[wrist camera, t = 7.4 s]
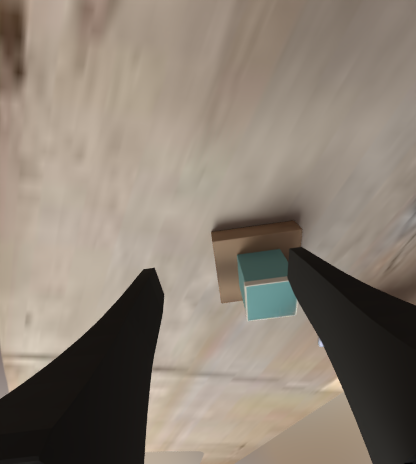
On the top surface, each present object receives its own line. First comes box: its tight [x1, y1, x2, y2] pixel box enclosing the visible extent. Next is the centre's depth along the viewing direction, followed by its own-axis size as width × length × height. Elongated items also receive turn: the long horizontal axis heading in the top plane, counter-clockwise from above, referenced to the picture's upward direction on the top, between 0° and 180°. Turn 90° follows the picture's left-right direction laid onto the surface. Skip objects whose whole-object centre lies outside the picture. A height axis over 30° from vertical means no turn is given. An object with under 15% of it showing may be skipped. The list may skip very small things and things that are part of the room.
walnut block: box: [211, 221, 302, 303], centre depth 23 cm, size 9×9×2 cm
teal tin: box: [237, 249, 298, 322], centre depth 20 cm, size 5×5×5 cm
